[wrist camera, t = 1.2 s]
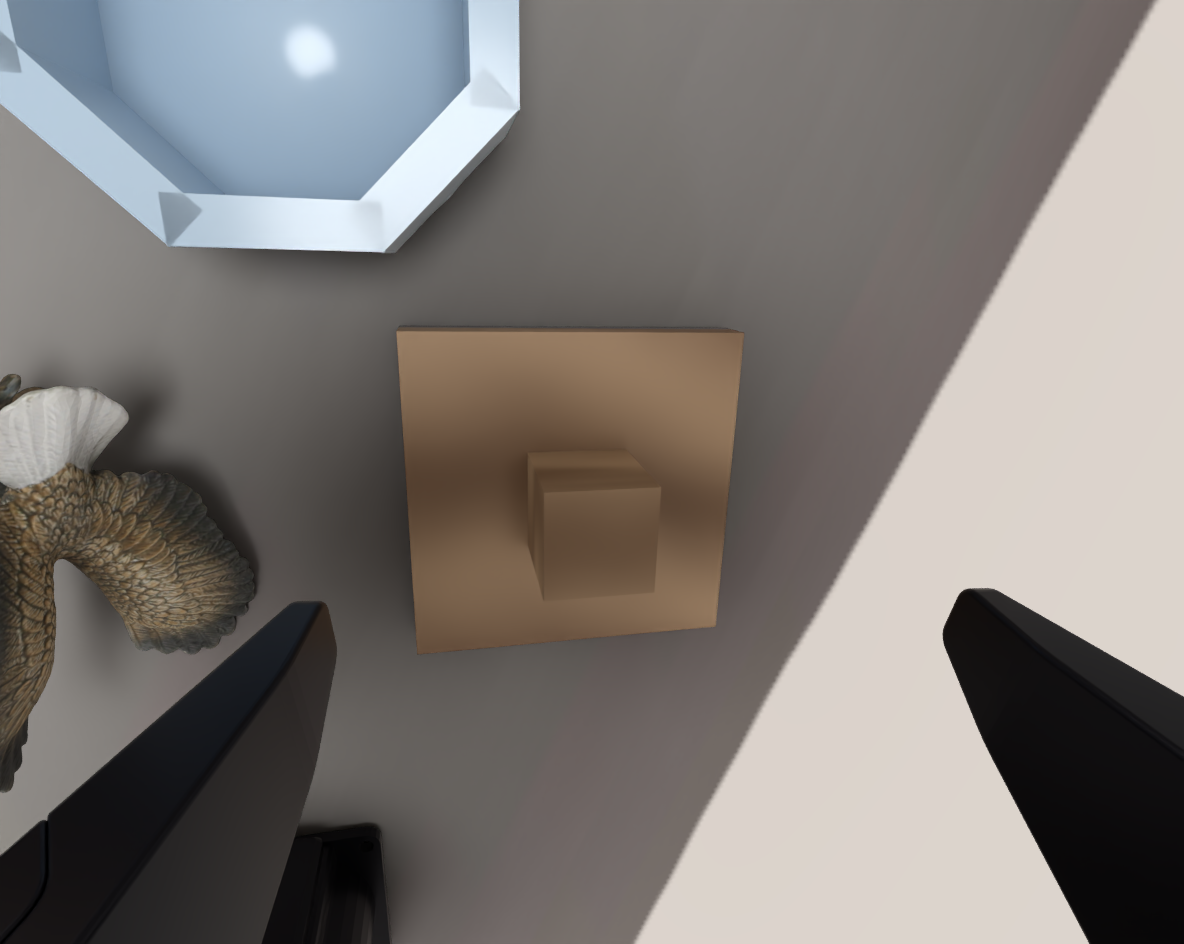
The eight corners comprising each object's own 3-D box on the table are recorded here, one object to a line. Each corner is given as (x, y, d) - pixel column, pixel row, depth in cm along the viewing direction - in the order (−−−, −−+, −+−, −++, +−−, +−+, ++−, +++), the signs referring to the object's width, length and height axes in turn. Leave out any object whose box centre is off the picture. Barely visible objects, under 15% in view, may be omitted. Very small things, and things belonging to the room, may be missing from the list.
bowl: (504, 256, 19) (521, 256, 15) (109, 244, 17) (-3, 242, 13) (498, -185, 16) (517, -345, 11) (11, -267, 14) (-181, -497, 9)
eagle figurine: (-224, 484, 16) (-12, 783, 18) (-391, 442, 10) (-54, 886, 12) (123, 376, 20) (266, 622, 22) (140, 306, 15) (329, 643, 17)
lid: (704, 611, 24) (760, 688, 19) (418, 637, 22) (411, 729, 17) (730, 329, 20) (803, 348, 16) (398, 327, 18) (385, 348, 14)
